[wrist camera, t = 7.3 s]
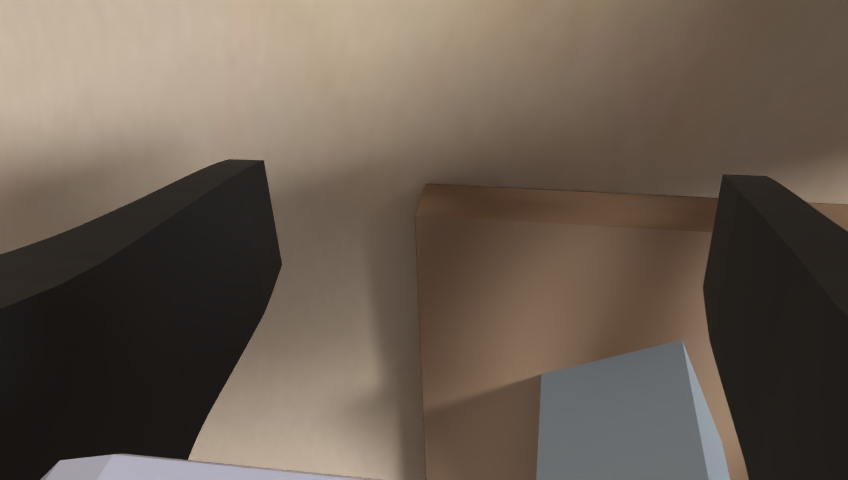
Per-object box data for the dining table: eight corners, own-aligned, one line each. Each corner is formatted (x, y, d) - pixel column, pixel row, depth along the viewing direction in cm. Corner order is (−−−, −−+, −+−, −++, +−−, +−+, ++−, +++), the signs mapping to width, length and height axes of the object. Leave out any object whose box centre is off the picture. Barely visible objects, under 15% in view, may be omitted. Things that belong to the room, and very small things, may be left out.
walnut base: (910, 207, 22) (938, 245, 20) (797, 526, 29) (811, 573, 27) (425, 183, 24) (414, 215, 22) (435, 486, 31) (428, 527, 30)
